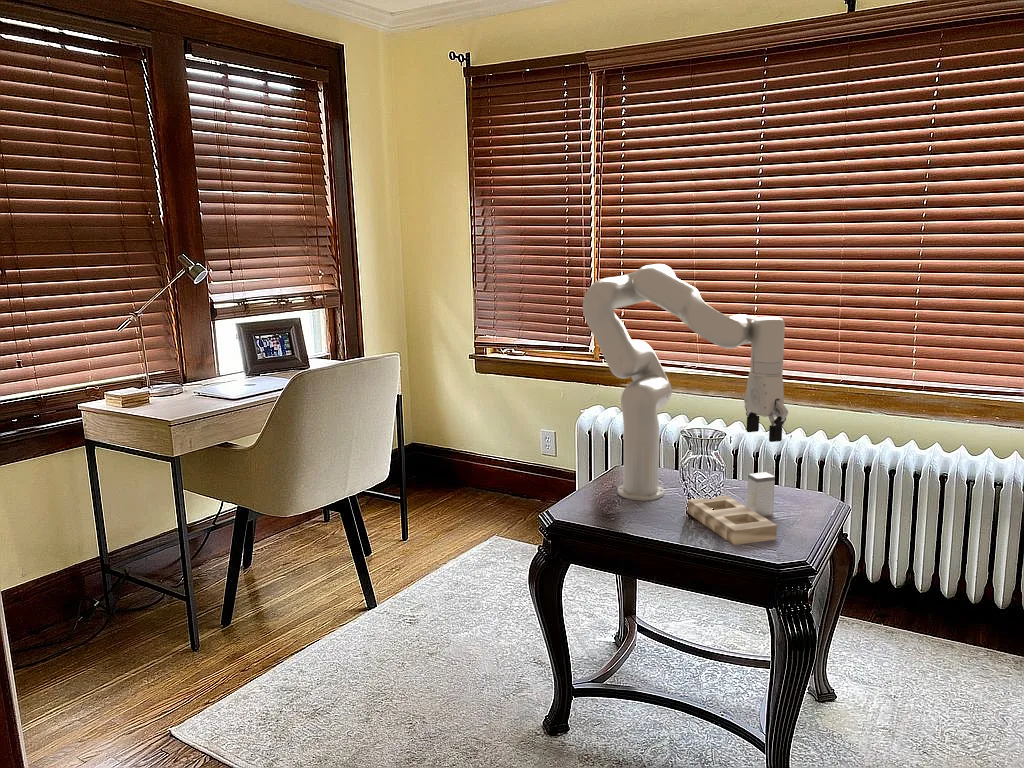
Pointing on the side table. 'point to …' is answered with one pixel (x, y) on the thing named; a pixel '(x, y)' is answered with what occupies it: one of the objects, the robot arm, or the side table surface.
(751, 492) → the white rectangular block
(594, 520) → the side table surface
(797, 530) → the side table surface
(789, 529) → the side table surface
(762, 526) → the tan cinder block
